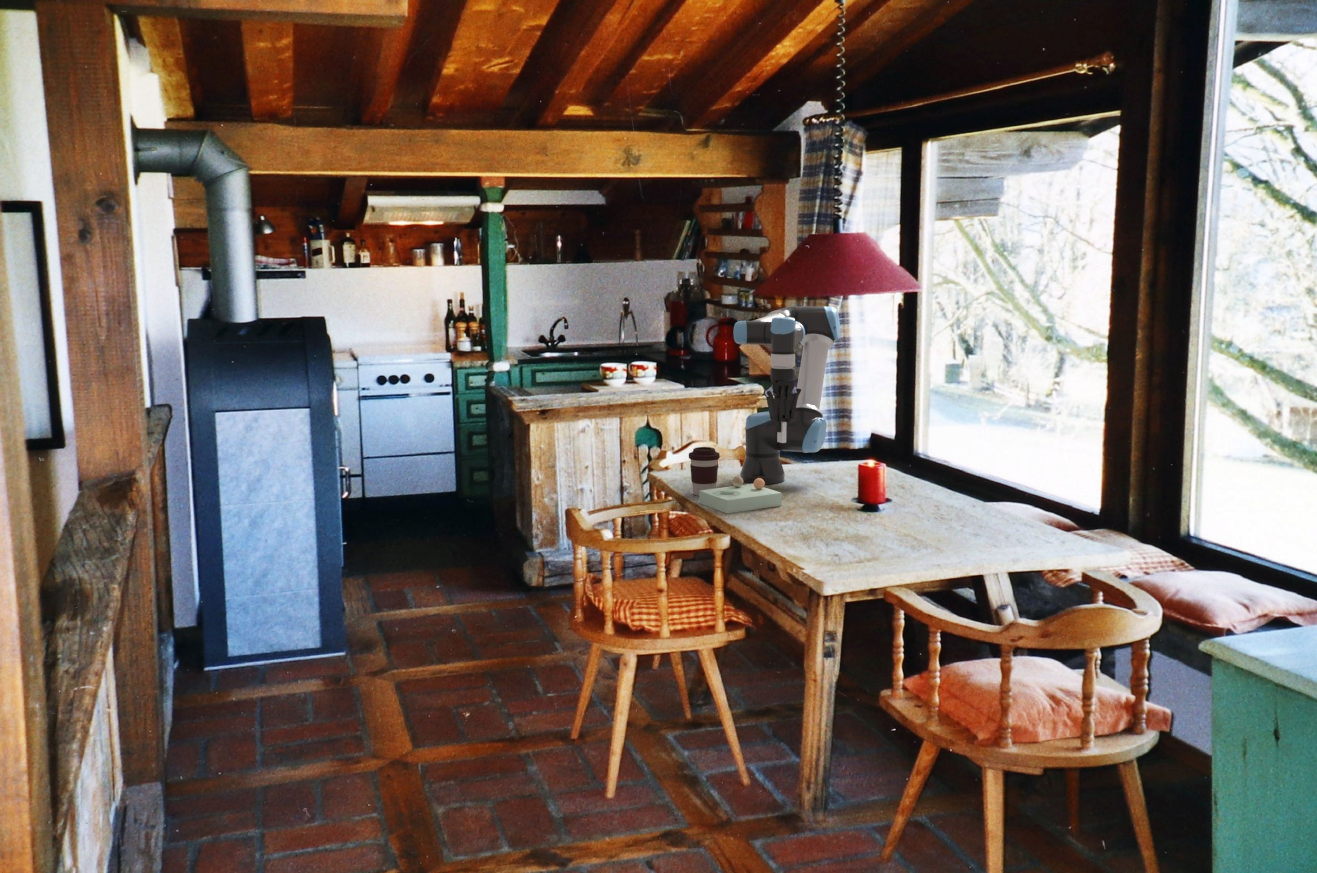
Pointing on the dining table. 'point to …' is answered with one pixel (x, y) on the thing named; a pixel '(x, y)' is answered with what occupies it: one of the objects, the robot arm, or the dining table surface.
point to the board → (740, 498)
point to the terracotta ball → (759, 483)
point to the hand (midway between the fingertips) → (781, 442)
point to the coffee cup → (703, 468)
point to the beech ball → (737, 481)
